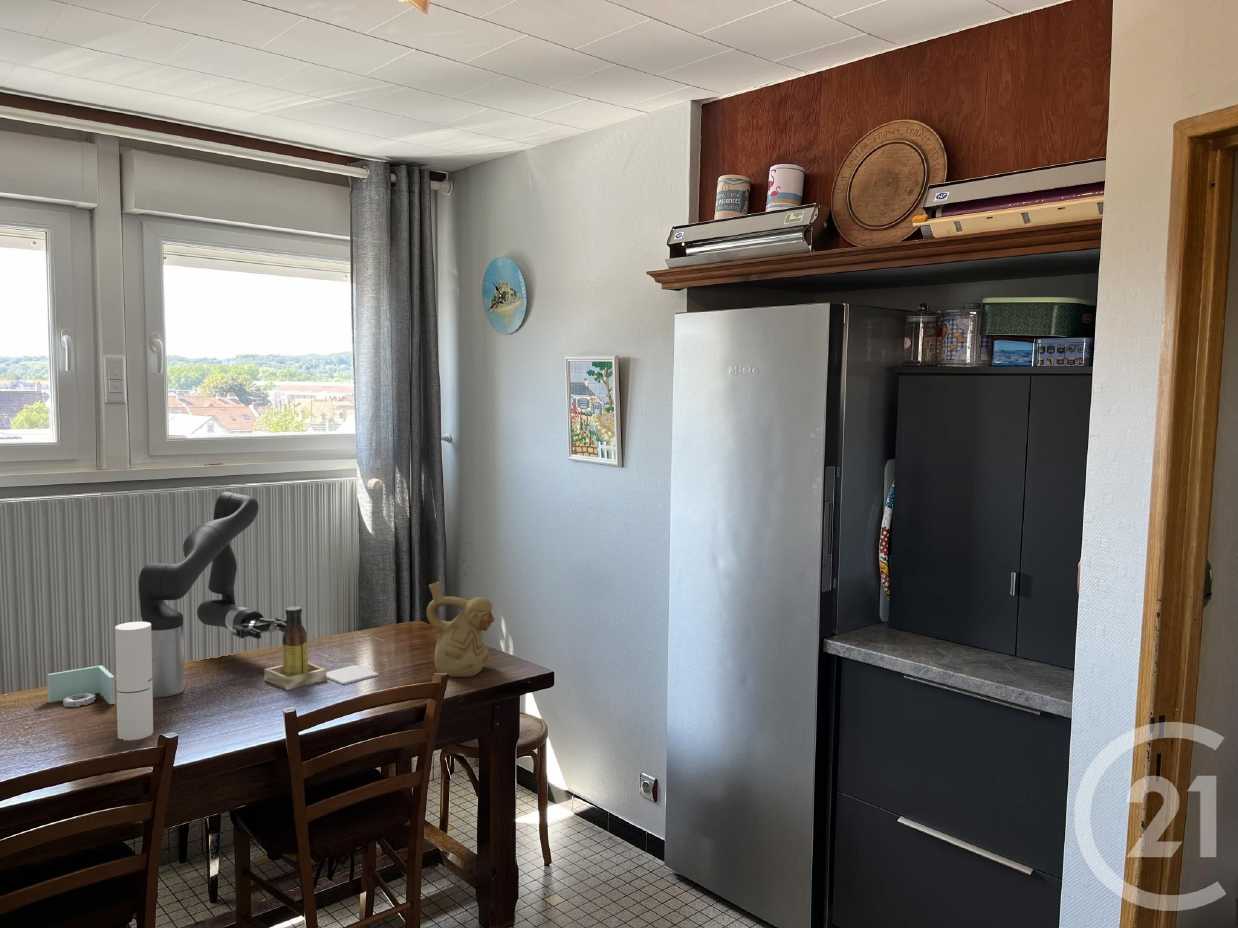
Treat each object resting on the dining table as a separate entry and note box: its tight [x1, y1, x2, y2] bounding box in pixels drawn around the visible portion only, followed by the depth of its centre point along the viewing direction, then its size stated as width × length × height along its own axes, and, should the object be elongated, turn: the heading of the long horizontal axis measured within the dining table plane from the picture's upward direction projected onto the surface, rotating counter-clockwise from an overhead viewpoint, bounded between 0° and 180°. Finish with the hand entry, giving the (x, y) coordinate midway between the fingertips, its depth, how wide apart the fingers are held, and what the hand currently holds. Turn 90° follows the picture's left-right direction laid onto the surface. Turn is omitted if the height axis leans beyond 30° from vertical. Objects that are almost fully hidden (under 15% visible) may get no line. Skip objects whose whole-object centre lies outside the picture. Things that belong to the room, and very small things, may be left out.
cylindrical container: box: [114, 621, 154, 741], centre depth 208 cm, size 7×7×25 cm
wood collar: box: [263, 661, 327, 691], centre depth 249 cm, size 12×12×3 cm
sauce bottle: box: [282, 605, 309, 677], centre depth 248 cm, size 6×6×20 cm
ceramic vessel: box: [426, 581, 495, 678], centre depth 260 cm, size 17×20×25 cm
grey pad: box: [326, 664, 379, 685], centre depth 254 cm, size 11×11×1 cm
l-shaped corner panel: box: [47, 664, 116, 708], centre depth 228 cm, size 12×12×8 cm
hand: (274, 632), depth 255 cm, fingers open, 8 cm apart
